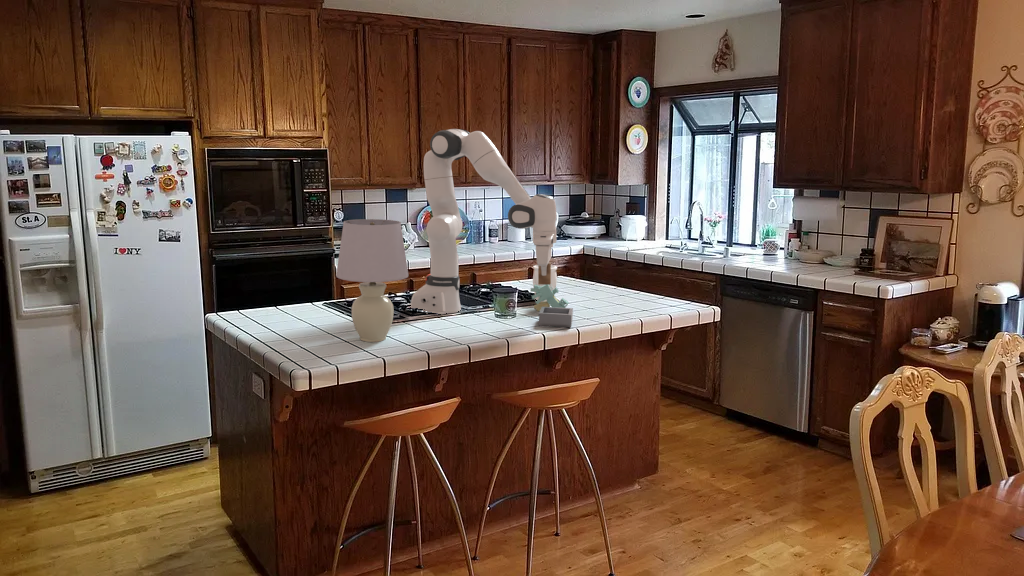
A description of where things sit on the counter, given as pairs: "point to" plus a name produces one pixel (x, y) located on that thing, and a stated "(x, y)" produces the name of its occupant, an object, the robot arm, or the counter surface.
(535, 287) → the toy
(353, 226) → the lamp
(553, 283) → the jar
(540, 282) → the tan wooden brick
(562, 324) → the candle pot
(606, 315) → the counter surface
